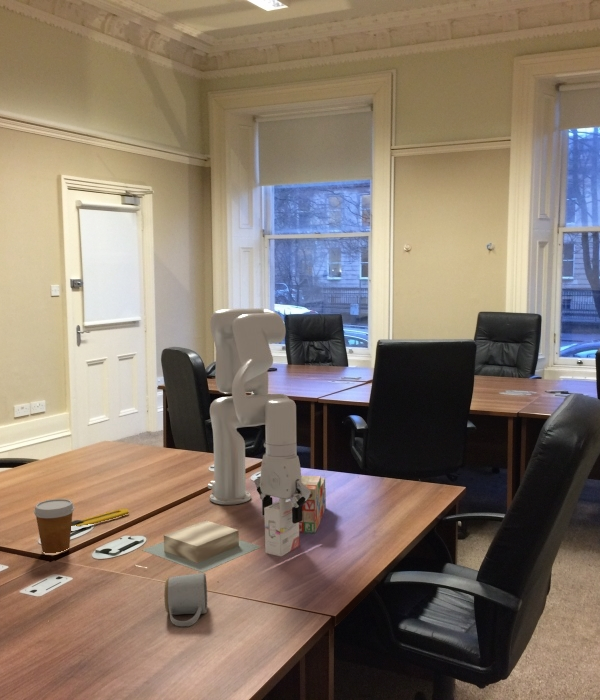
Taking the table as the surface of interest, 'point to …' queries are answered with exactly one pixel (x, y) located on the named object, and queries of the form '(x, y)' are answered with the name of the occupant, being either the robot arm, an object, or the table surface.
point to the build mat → (208, 563)
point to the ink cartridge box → (280, 528)
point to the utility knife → (100, 517)
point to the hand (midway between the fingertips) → (282, 518)
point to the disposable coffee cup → (54, 524)
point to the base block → (201, 541)
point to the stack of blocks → (313, 504)
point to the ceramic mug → (186, 597)
